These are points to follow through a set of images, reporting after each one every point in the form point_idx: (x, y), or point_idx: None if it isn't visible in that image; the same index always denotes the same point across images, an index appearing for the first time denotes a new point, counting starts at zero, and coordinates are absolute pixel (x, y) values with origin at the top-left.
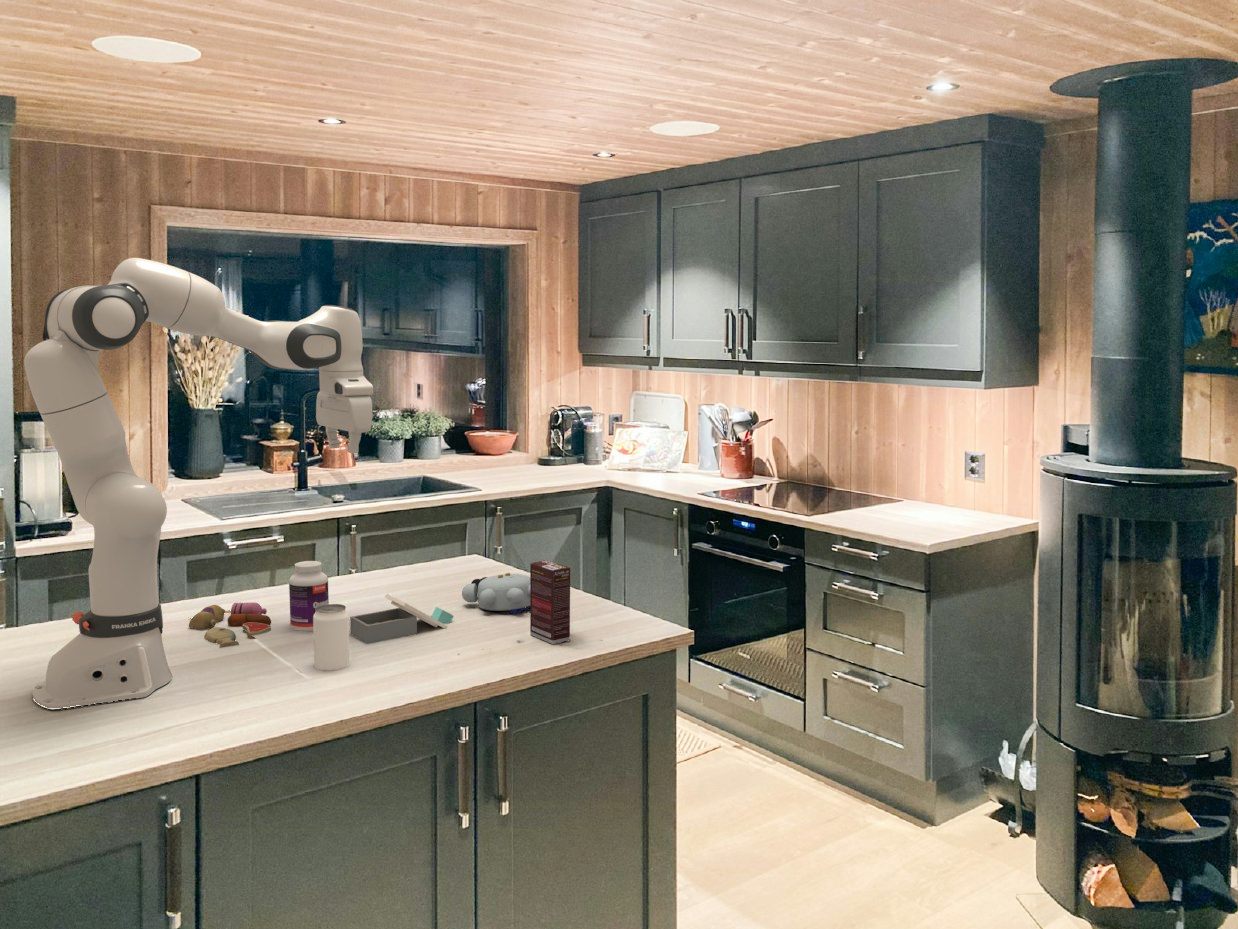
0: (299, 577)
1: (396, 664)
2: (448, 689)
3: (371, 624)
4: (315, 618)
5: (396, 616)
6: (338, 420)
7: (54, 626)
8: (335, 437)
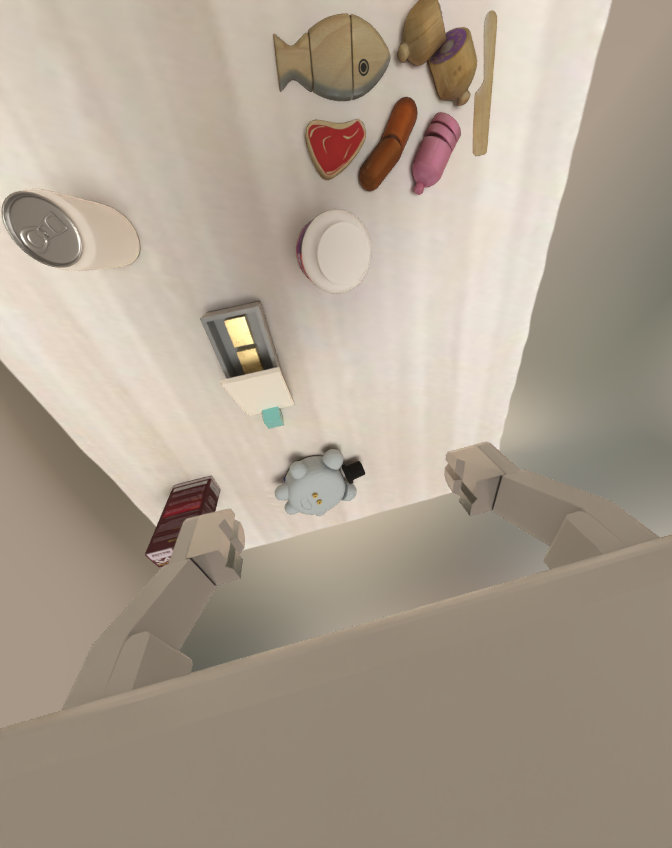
0: (321, 228)
1: (124, 331)
2: (9, 366)
3: (208, 326)
4: (23, 190)
5: None
6: (275, 823)
7: None
8: (508, 511)
